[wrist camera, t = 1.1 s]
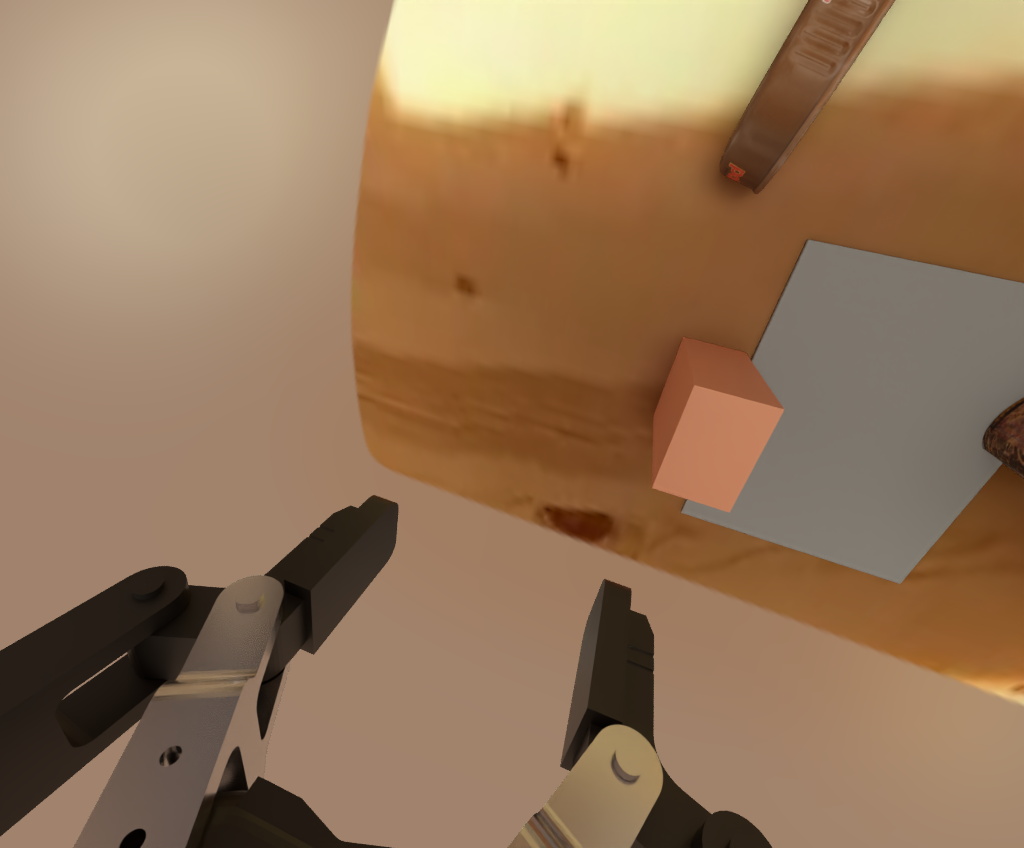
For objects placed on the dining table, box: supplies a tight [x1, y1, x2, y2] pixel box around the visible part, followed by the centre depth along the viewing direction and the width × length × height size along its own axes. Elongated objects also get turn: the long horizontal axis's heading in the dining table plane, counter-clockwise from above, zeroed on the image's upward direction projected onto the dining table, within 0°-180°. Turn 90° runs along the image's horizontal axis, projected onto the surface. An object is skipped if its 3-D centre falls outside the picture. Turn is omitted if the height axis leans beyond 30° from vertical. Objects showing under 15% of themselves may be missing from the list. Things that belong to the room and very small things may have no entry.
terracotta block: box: [652, 337, 785, 513], centre depth 26 cm, size 4×6×10 cm, turn 168°
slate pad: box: [681, 239, 1024, 584], centre depth 28 cm, size 16×20×1 cm
